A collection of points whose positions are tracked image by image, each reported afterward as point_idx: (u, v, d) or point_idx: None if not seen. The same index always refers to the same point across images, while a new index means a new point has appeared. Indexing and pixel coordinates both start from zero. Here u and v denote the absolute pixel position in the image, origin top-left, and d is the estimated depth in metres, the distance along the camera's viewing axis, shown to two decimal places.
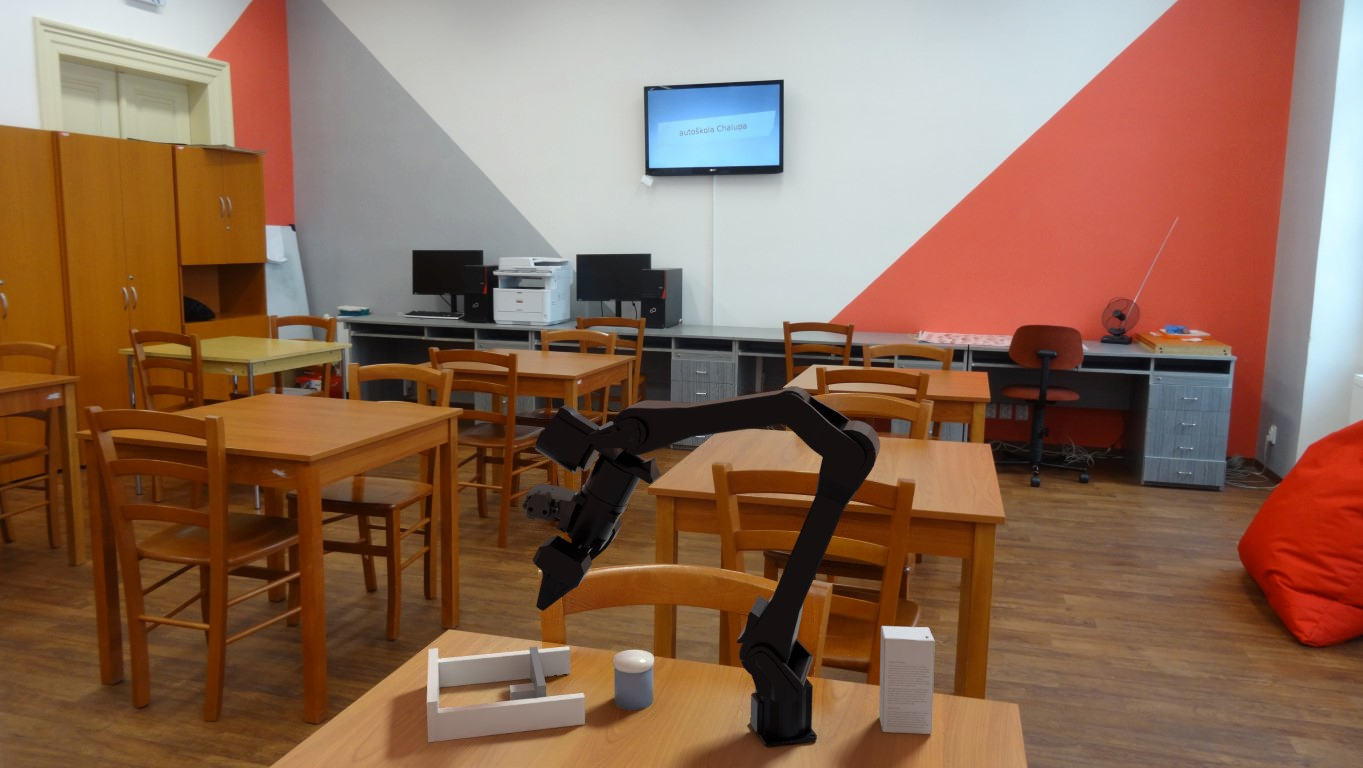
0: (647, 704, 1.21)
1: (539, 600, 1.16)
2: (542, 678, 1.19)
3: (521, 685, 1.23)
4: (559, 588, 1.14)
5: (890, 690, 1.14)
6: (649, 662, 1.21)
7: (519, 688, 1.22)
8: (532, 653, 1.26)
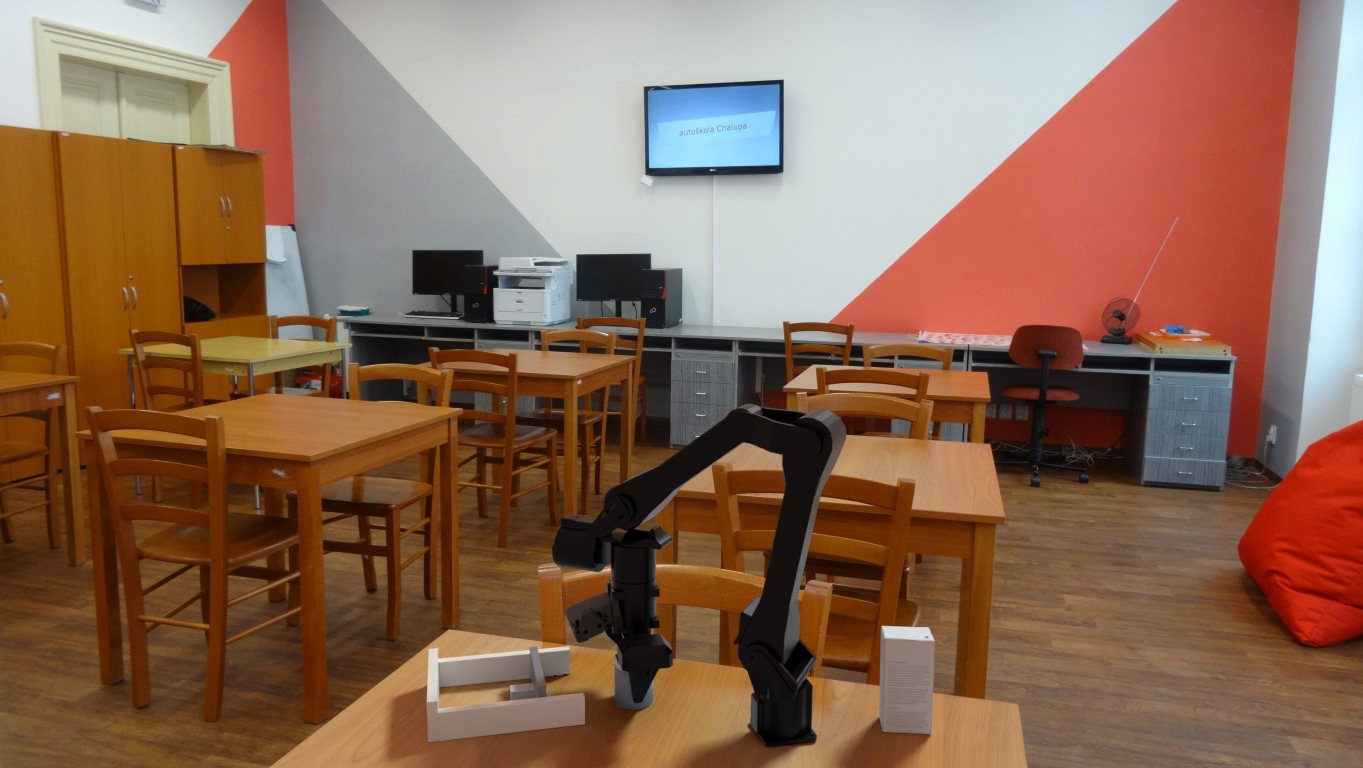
0: (647, 704, 1.21)
1: (635, 695, 1.20)
2: (542, 678, 1.19)
3: (521, 685, 1.23)
4: (648, 672, 1.19)
5: (890, 690, 1.14)
6: None
7: (519, 688, 1.22)
8: (532, 653, 1.26)
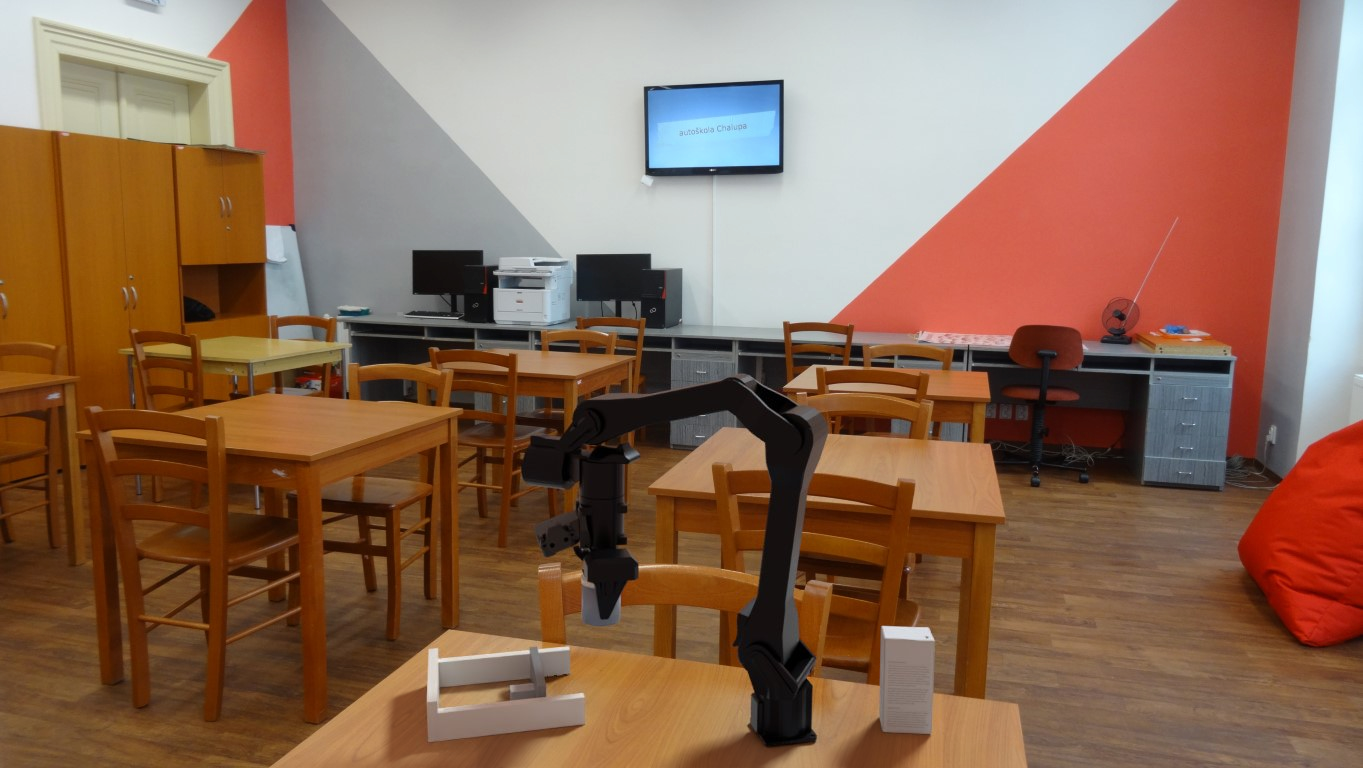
0: (614, 621, 1.22)
1: (601, 611, 1.20)
2: (542, 678, 1.19)
3: (521, 685, 1.23)
4: (615, 588, 1.19)
5: (890, 690, 1.14)
6: None
7: (519, 688, 1.22)
8: (532, 653, 1.26)
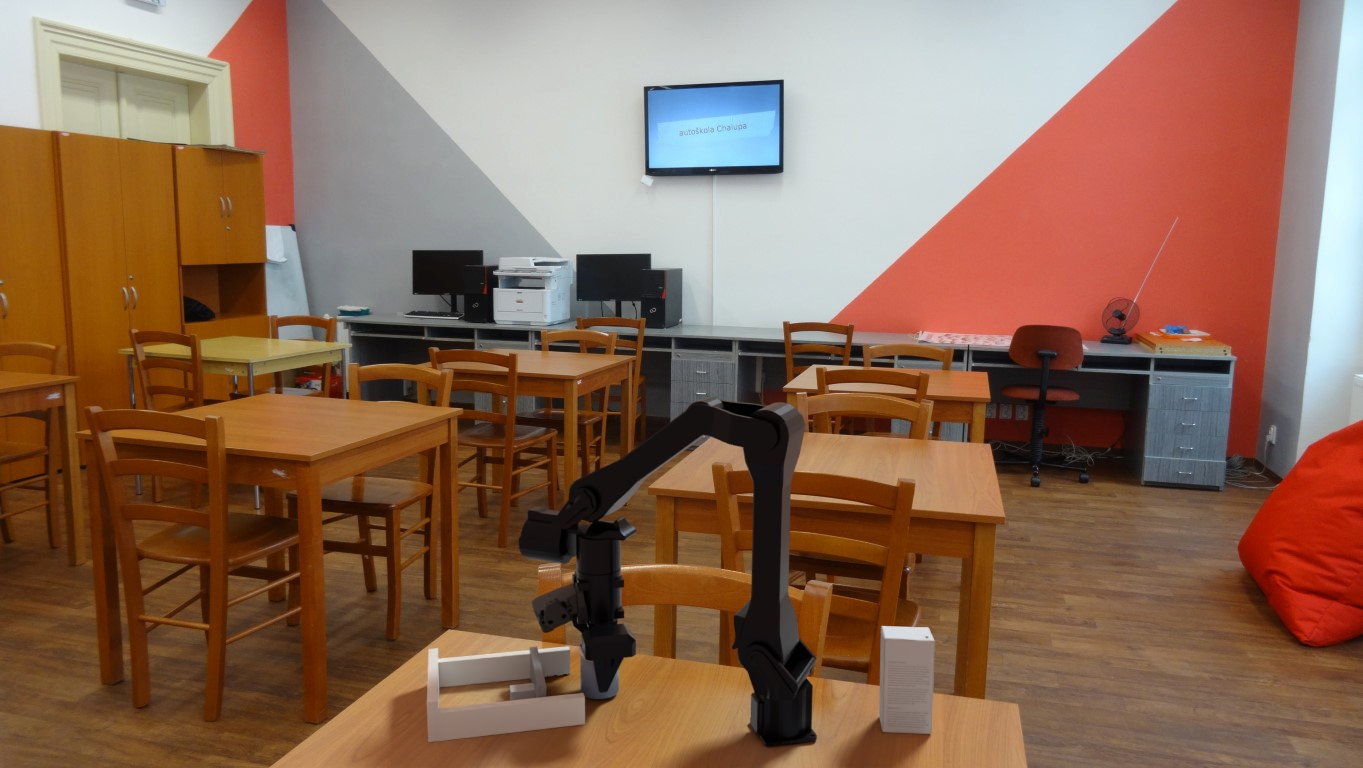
0: (612, 693, 1.23)
1: (600, 685, 1.21)
2: (542, 678, 1.19)
3: (521, 685, 1.23)
4: (613, 662, 1.20)
5: (890, 690, 1.14)
6: None
7: (519, 688, 1.22)
8: (532, 653, 1.26)
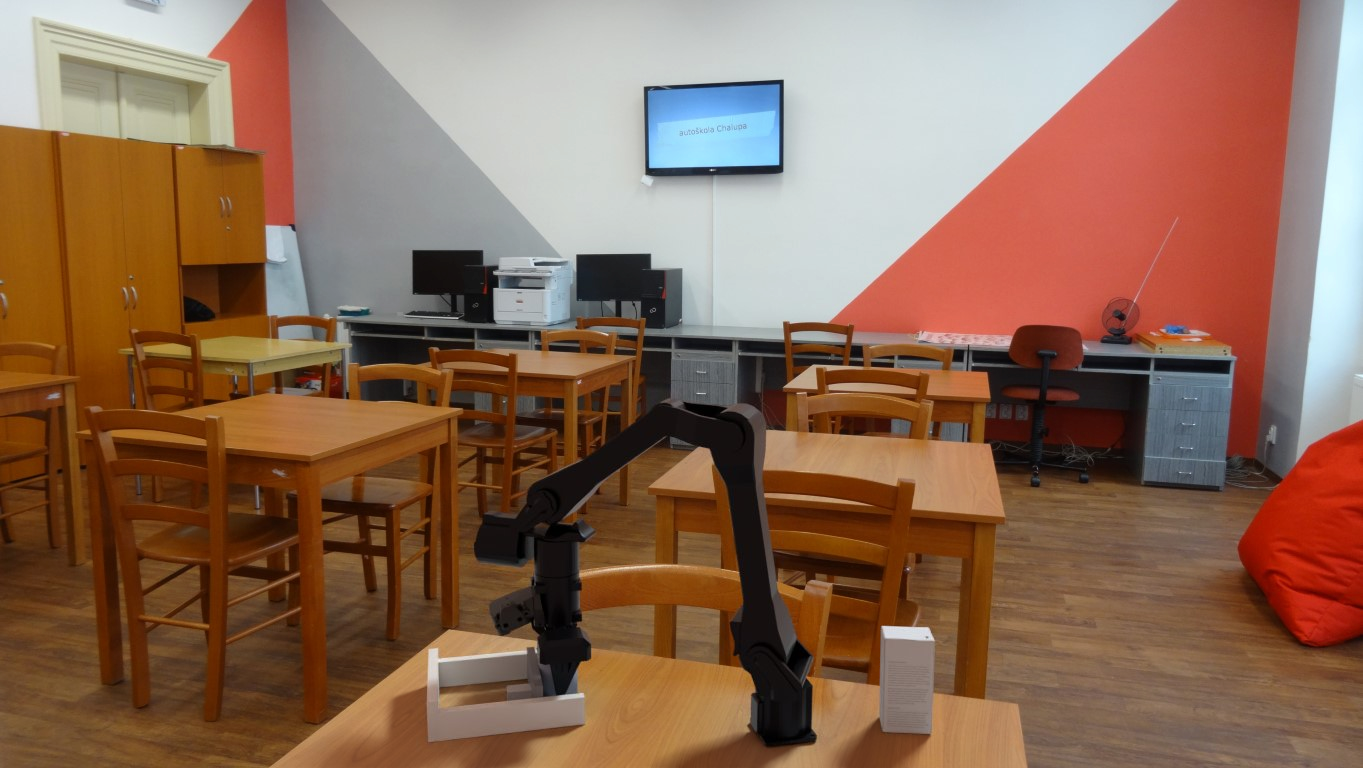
0: None
1: (557, 688, 1.20)
2: (539, 678, 1.19)
3: (518, 685, 1.23)
4: (570, 666, 1.19)
5: (890, 690, 1.14)
6: None
7: (516, 688, 1.22)
8: (529, 653, 1.26)
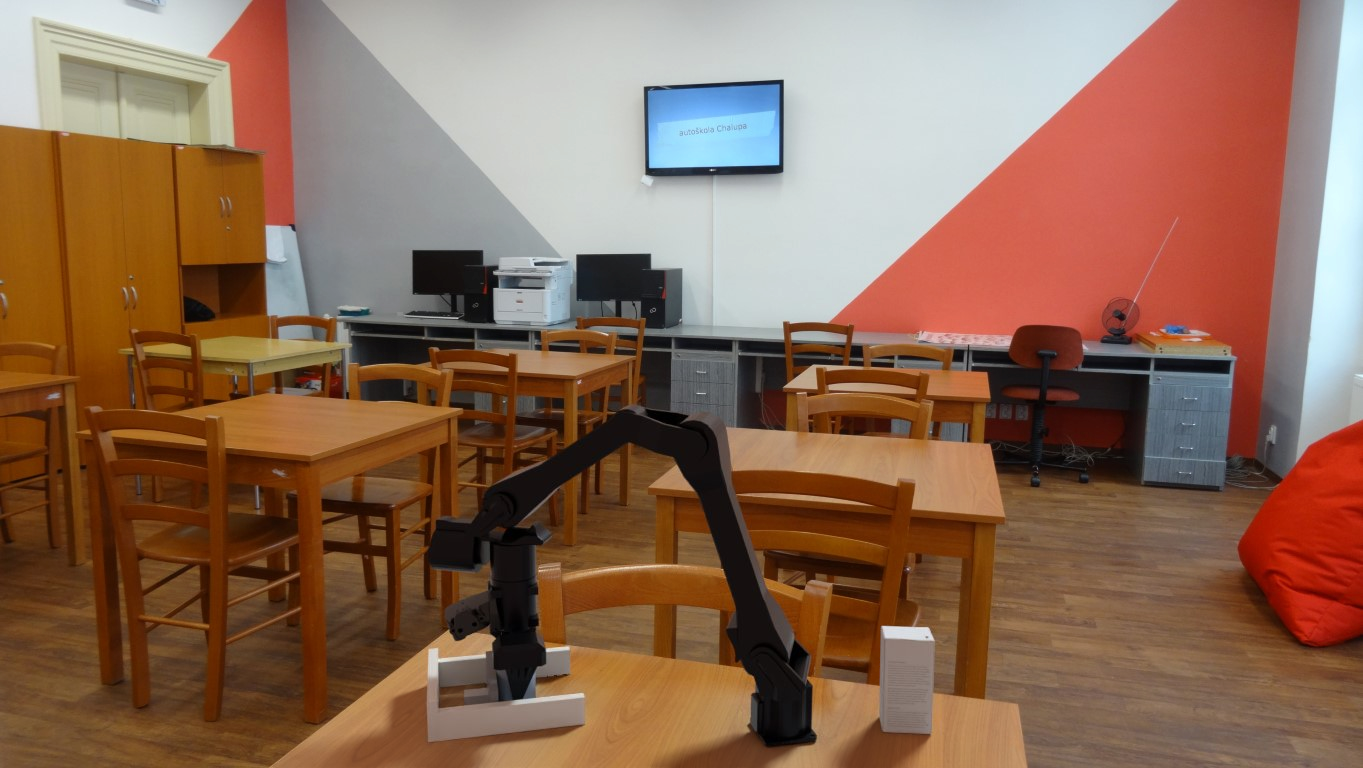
0: None
1: (514, 694, 1.19)
2: (495, 683, 1.17)
3: (475, 690, 1.21)
4: (526, 671, 1.18)
5: (890, 690, 1.14)
6: None
7: (473, 692, 1.21)
8: (487, 657, 1.25)
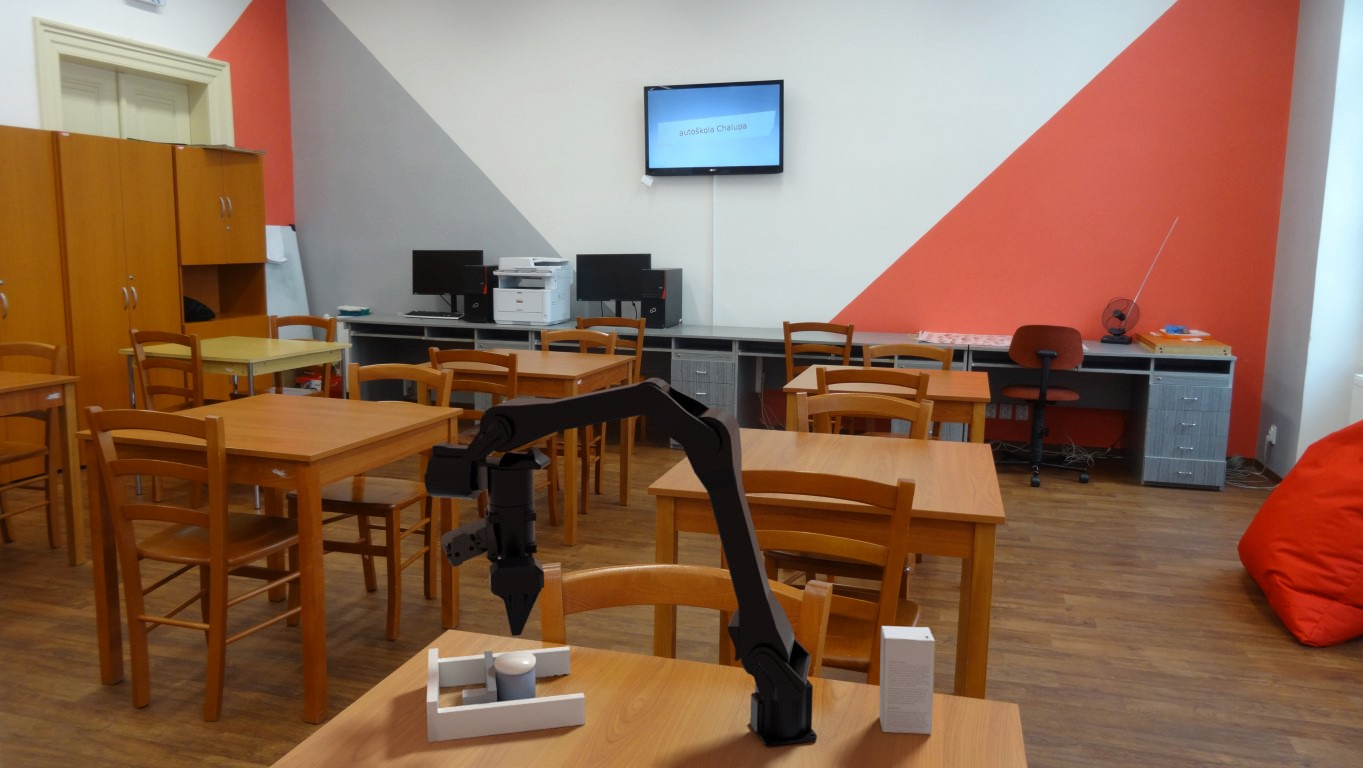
0: None
1: (512, 627, 1.16)
2: (493, 683, 1.17)
3: (474, 690, 1.21)
4: (525, 603, 1.15)
5: (890, 690, 1.14)
6: (529, 664, 1.20)
7: (471, 692, 1.21)
8: (486, 657, 1.25)
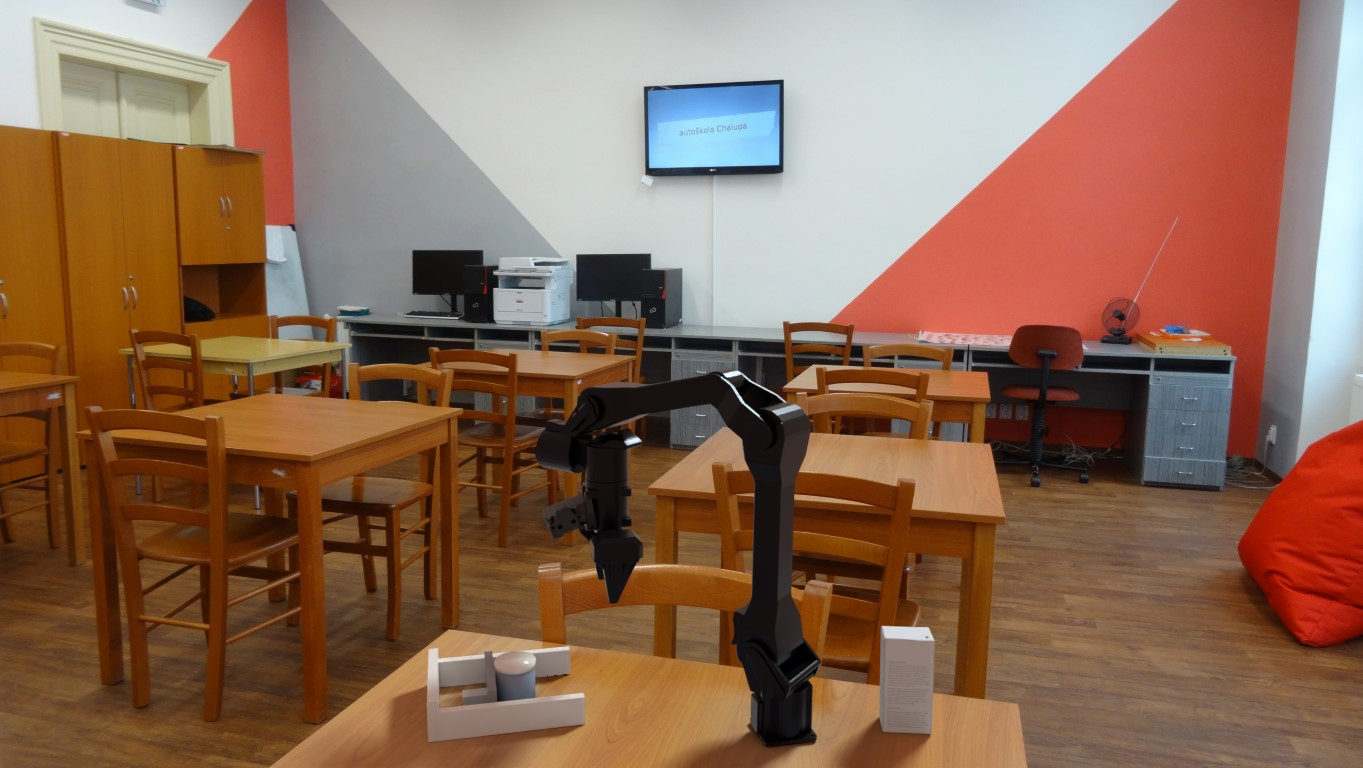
0: None
1: (610, 595, 1.23)
2: (493, 683, 1.17)
3: (474, 690, 1.21)
4: (623, 573, 1.22)
5: (890, 690, 1.14)
6: (529, 664, 1.20)
7: (471, 692, 1.21)
8: (486, 657, 1.25)
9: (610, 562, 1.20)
